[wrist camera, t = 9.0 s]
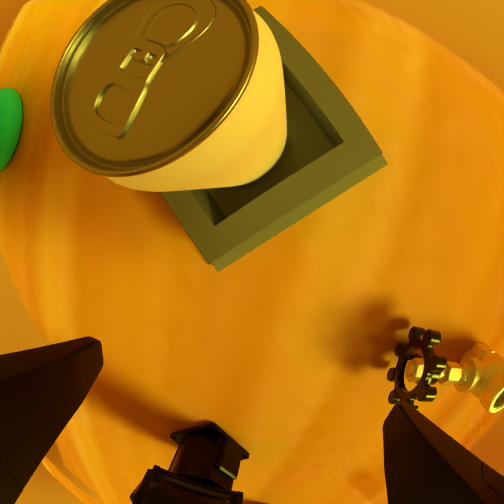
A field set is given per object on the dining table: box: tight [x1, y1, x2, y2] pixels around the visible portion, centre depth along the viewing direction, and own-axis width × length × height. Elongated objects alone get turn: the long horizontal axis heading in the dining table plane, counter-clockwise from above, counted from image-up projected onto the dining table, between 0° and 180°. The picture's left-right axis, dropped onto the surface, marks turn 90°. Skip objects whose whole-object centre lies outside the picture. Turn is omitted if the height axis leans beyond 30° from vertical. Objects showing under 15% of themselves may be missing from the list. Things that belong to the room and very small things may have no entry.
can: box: [50, 0, 287, 192], centre depth 10 cm, size 6×6×12 cm
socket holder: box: [160, 6, 387, 272], centre depth 15 cm, size 13×13×4 cm
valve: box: [387, 326, 504, 413], centre depth 16 cm, size 7×7×12 cm
